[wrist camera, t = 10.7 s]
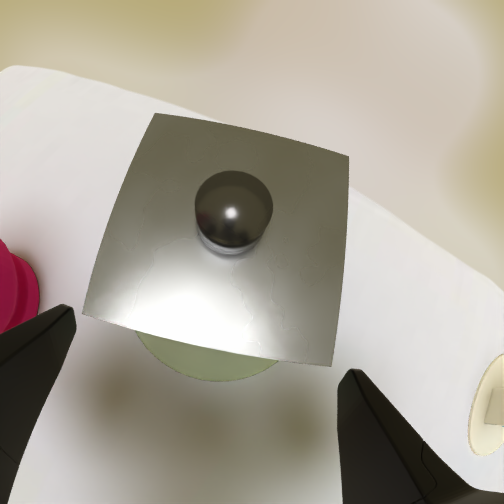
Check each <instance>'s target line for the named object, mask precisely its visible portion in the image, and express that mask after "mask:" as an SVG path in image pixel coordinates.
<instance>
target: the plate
mask: <svg viewBox="0 0 504 504" xmlns="http://www.w3.org/2000/svg"><path fill="white" fill-rule="evenodd" d="M135 331H136V333H137V335H138V337H139V338H140V340H141V341H142V342H143V344H144V345H145V347H146V348H147V349H148V350H149V351H150V352H151V353H152V354H153V355H154V356H155V357H156V358H157V359H159V360H160V361H161V362H162V363H164V364H165V365H167V366H168V367H170V368H172V369H173V370H175V371H177V372H179V373H182V374H184V375H186V376H189V377H193V378H196V379H200V380H207V381H232V380H238V379H243V378H246V377H250V376H253V375H255V374H257V373H260V372H262V371H264V370H266V369H267V368H269V367H270V366H272V365H274V364H275V363H276V362H278V361H279V360H273V359H267V358H261V357H255V356H249V355H243V354H237V353H232V352H227V351H222V350H217V349H212V348H207V347H202V346H198V345H193V344H189V343H184V342H180V341H176V340H172V339H167V338H163V337H160V336H156V335H152V334H148V333H144V332H141V331H137V330H135Z"/></svg>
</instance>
